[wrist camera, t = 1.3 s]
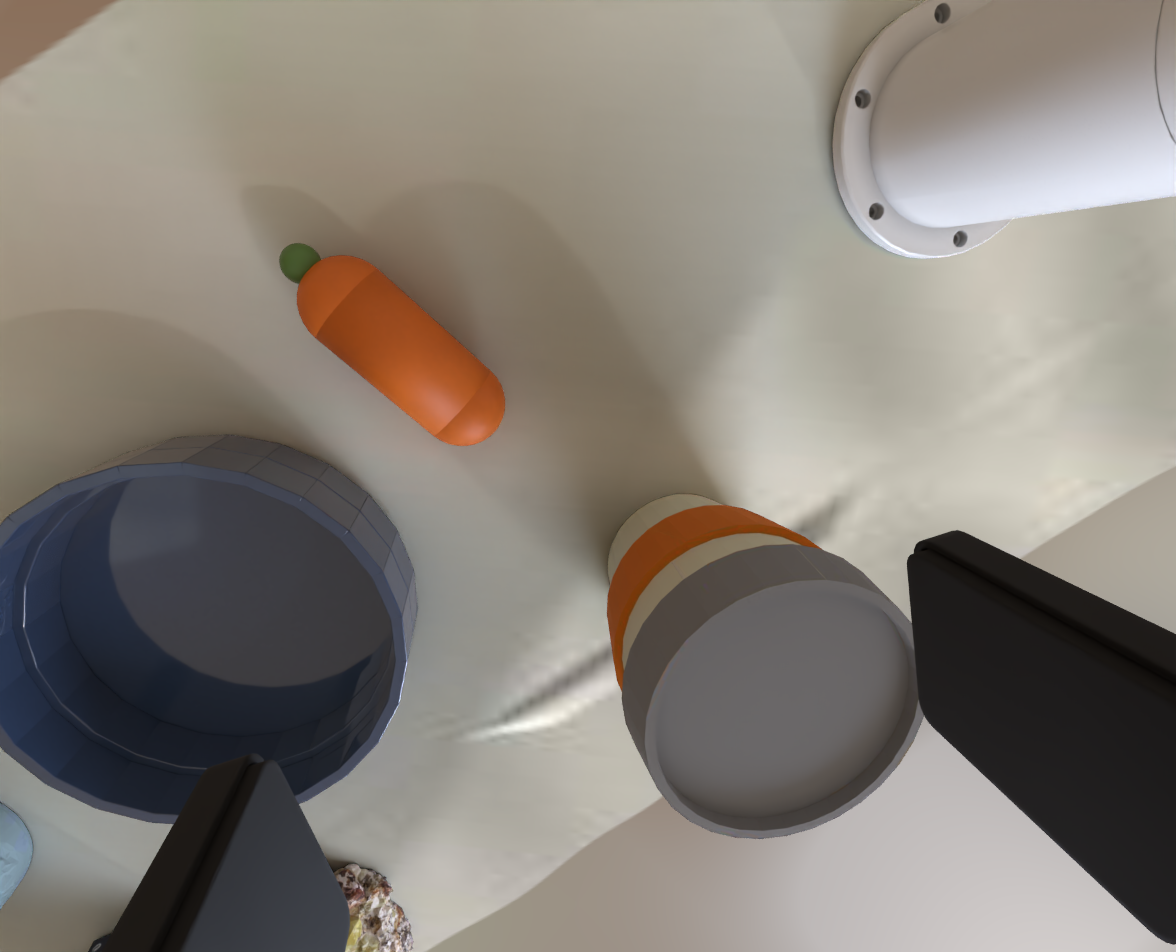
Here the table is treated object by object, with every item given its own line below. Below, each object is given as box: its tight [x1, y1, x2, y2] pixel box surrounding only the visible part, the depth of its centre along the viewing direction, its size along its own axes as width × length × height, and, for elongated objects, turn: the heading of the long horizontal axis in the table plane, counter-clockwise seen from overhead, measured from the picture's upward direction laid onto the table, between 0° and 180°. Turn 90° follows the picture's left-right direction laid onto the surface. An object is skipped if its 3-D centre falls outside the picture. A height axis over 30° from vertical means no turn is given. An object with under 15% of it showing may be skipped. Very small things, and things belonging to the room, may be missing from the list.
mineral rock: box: [334, 864, 414, 952], centre depth 41 cm, size 11×4×8 cm
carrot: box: [279, 243, 505, 446], centre depth 30 cm, size 13×4×4 cm, turn 46°
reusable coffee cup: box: [607, 494, 924, 839], centre depth 32 cm, size 13×13×15 cm
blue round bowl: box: [0, 435, 418, 824], centre depth 32 cm, size 19×19×6 cm
